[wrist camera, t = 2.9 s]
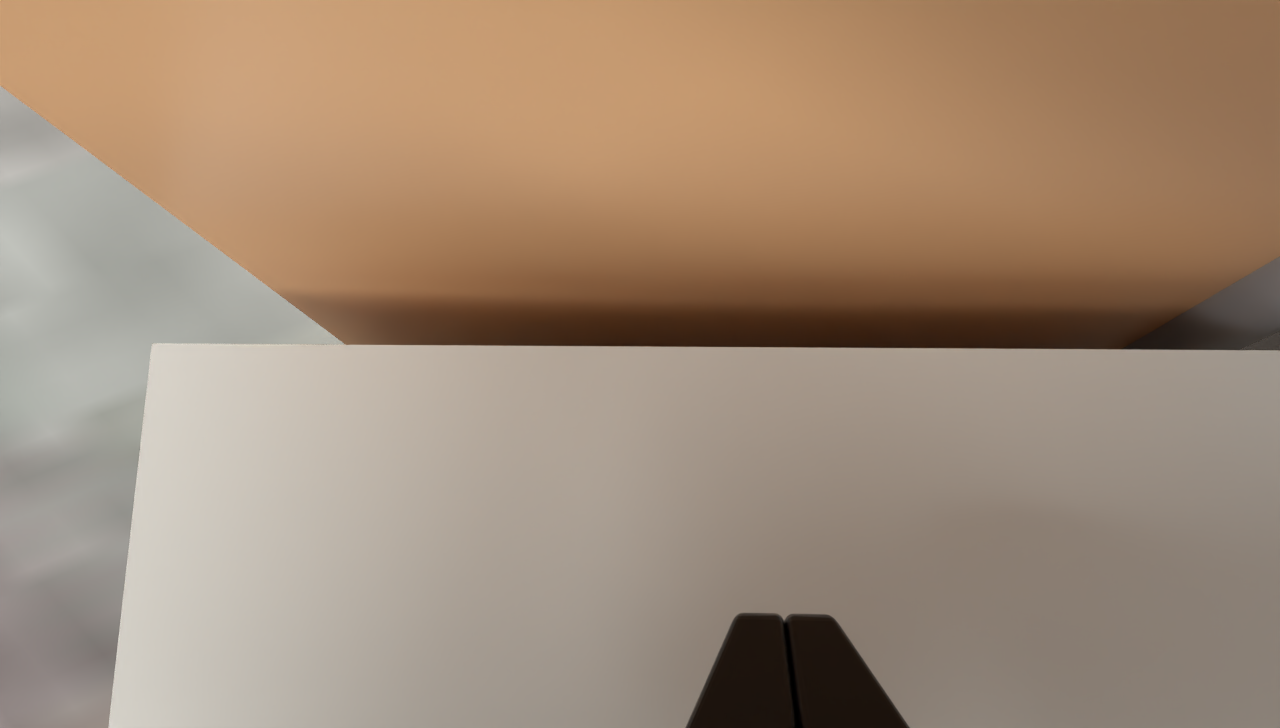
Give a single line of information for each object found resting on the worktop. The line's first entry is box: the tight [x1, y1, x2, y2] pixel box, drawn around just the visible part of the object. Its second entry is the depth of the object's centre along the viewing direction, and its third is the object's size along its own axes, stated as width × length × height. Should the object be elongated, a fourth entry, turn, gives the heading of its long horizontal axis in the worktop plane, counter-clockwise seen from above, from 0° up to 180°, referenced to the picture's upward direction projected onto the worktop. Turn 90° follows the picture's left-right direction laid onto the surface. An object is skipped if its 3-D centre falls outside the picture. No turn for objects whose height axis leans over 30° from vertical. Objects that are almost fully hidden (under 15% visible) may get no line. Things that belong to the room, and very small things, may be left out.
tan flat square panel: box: [0, 0, 1280, 350], centre depth 13 cm, size 2×12×12 cm, turn 89°
